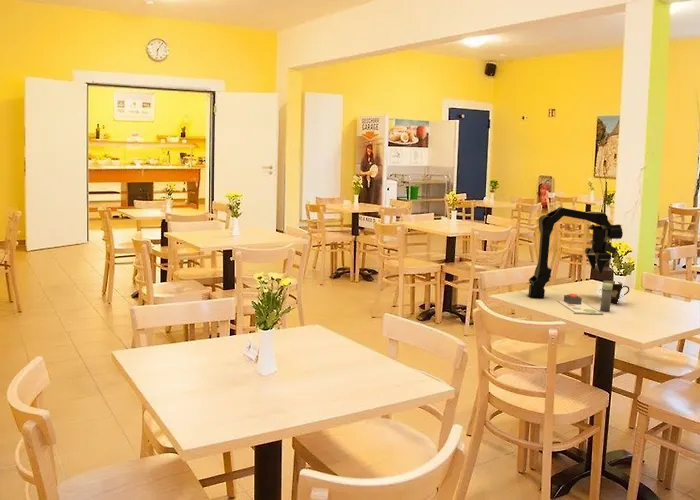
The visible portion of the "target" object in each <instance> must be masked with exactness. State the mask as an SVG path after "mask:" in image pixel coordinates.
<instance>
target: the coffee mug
mask: <svg viewBox="0 0 700 500" xmlns="http://www.w3.org/2000/svg"><path fill="white" fill-rule="evenodd" d="M617 282H618V283H619V284H615V280H603V282H602V284H603V283H611V284H613V288H612V294H611V303H610V304H612V305H614V304H617V302H618V303H619V301H618V299H619V300H620V298H619V297H620V296H621V292H622V289H623V288H627V291H626V292H625V293H624V296H625V295H627V294H628V293H630V287H629V286H627V285H623V283H622V282H621V281H617ZM622 286H623V287H622ZM617 305H618V304H617Z"/></svg>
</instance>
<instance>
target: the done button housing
mask: <svg viewBox="0 0 700 500" xmlns="http://www.w3.org/2000/svg"><path fill="white" fill-rule="evenodd" d="M563 301H564V302H566V303H568V304H581V302H583V301H582V297H580V296H579V295H577V298H570V297H569V294H564V295H563Z"/></svg>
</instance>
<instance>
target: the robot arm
mask: <svg viewBox="0 0 700 500" xmlns="http://www.w3.org/2000/svg"><path fill="white" fill-rule="evenodd" d="M563 217H569V218H572V219H573V218H574V219H579V220H583V221H587V222H590V223H592V224H591V225H590V226H588V230H592V238H591V240H590V243H591V247H586V248H585V250H584V253H585V256H586V258H587V259H588V262H589V264H590V268H591V269H592V270H593V271H594V270H596V266H597V271H598V273H599V274H602V273H603V270H604V268H605V265H606V264H607V263H608V262H609V261H610V260H612V255H616V254H617V252H618V251H617V250H618V248H616V247H614V246H613V245H612V243H609V242H607V241H606V238H607V240H620V239H622V238H623V228H622V225H621V224H611V223H610V222H609V221H610V220H608V219H609V218H608V215H607V214H606V213H605V212H601V211H583V210H576V209H571V208H566V207H563V206H558V207H557V208H556V209H554V210H553V211H551V212H550V211H549V212H548V213H547V214H543V215H541V216H540V217H539V218H538V219H537V222H538V230H539V233H540V235H539V246H538V248H539V249H538V261H537V264H536V267H535V270H534V275H532V276H531V277H530V278H528V282H529V285H528V286H529V287H528V295H526V296H527V297H528V298H530V299H539V300H544V299H545V291H546V289H545V286H546V284H547V283H549V281H550V279H551V278H552V276H551V273H552V269H551V268H550V267H549V266H548V265H549V264H548V261H549V251H550V239H551V234H552V232H553V229H554V227H555V224H556V223H557V222H559V221H560V220H561V219H562V218H563ZM611 254H612V255H611Z"/></svg>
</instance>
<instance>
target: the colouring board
mask: <svg viewBox="0 0 700 500" xmlns="http://www.w3.org/2000/svg"><path fill="white" fill-rule="evenodd" d="M556 302H557V303H559V305H561V306H563V307H565V308H566V309H568V310H570V311H571V312H572V313H573V314H574V315H589V316H590V315H591V316H592V315H593V316H604V312H602V311H600V310H598V309H596V308H594V307H593V306H591V305H590V304H587V303H586V302H584V301H582V302H581V304H568V303H566V302H564V300H556Z"/></svg>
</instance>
